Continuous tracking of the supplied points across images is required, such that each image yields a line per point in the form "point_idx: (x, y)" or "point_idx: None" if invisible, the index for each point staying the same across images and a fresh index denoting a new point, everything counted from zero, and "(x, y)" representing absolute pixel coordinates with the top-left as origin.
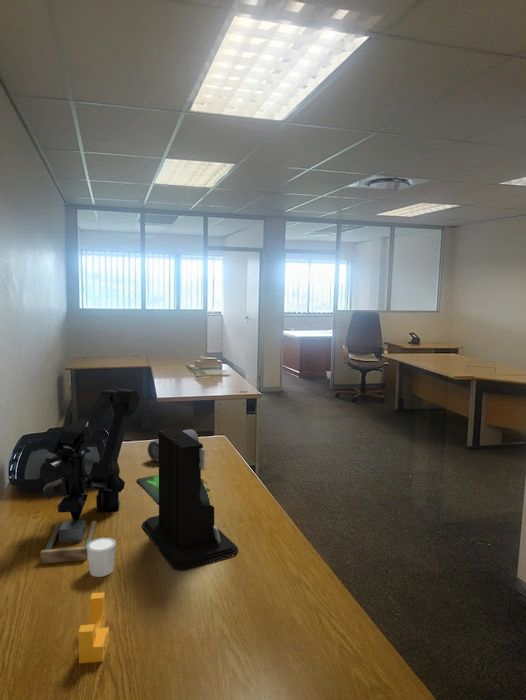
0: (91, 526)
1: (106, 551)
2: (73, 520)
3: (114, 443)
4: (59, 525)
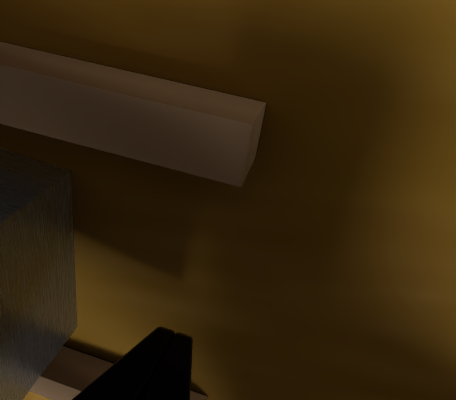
0: None
1: None
2: (131, 350)
3: None
4: (175, 160)
